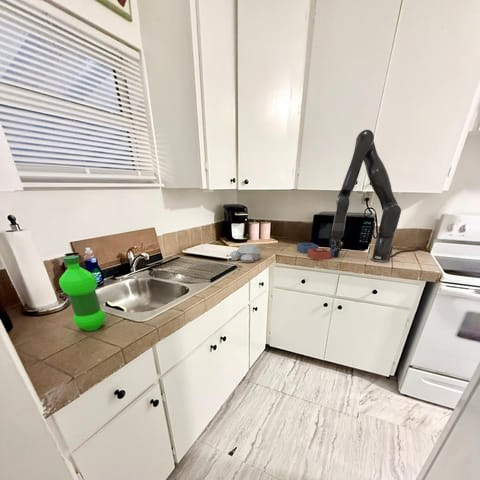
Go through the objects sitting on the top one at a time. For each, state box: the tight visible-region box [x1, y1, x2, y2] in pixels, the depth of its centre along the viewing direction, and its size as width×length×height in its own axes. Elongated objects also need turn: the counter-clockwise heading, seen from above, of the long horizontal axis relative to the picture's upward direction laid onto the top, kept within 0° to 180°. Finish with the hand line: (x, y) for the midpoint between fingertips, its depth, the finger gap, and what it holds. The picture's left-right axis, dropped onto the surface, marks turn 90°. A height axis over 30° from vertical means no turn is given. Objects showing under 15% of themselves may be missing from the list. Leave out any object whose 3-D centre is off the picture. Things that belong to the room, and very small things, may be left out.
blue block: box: [329, 248, 340, 258], centre depth 174 cm, size 4×4×4 cm
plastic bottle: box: [58, 254, 107, 332], centre depth 86 cm, size 10×10×25 cm
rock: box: [228, 243, 262, 263], centre depth 168 cm, size 18×20×10 cm
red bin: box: [306, 247, 332, 261], centre depth 172 cm, size 11×11×4 cm
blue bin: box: [296, 242, 319, 254], centre depth 188 cm, size 11×11×4 cm
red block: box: [315, 249, 324, 253], centre depth 172 cm, size 4×4×4 cm
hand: (333, 255), depth 175 cm, fingers closed on blue block, 4 cm apart
